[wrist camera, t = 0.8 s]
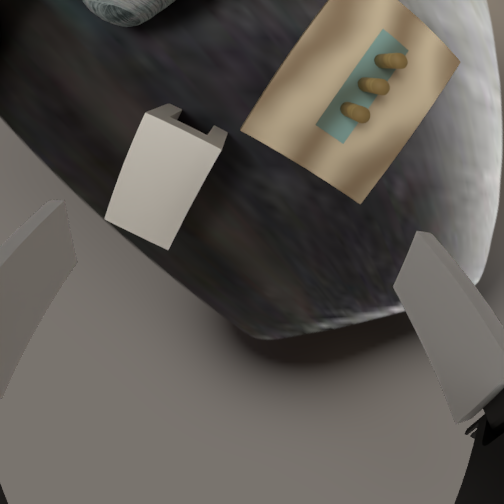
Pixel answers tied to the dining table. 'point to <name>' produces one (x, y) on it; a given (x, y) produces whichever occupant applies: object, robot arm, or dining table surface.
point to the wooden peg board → (352, 92)
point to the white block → (162, 175)
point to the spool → (126, 10)
